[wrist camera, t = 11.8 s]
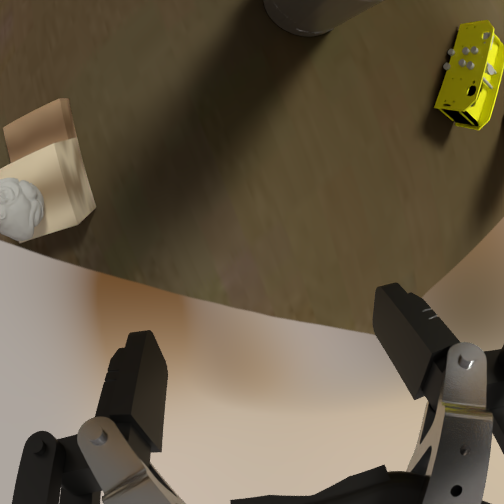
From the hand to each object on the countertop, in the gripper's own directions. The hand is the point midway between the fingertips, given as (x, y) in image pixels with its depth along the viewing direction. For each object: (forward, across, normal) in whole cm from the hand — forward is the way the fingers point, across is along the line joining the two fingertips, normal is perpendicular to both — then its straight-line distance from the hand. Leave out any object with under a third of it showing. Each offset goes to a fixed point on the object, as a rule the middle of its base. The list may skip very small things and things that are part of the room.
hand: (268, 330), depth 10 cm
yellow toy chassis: (+28, -34, -12) cm, 45 cm away
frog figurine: (+21, +21, -4) cm, 30 cm away
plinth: (+27, +21, -6) cm, 35 cm away
